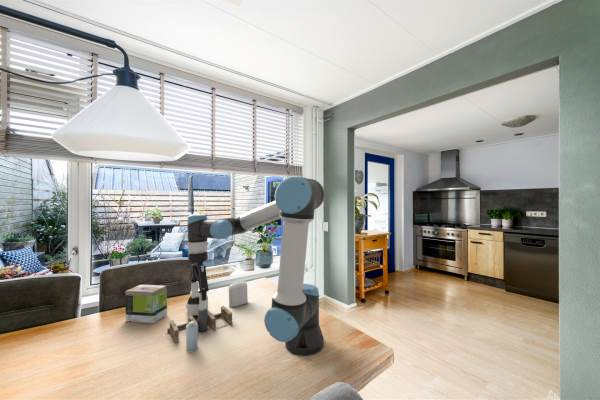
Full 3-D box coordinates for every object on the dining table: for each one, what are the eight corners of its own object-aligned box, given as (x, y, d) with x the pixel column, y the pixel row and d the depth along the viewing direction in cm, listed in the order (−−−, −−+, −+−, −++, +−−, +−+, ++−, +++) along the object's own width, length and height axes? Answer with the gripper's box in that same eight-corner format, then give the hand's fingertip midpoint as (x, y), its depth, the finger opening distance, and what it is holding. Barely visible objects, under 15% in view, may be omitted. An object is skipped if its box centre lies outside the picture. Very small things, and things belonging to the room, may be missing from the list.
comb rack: (233, 323, 115) (233, 312, 115) (172, 343, 99) (172, 331, 99) (224, 314, 123) (224, 304, 123) (167, 332, 108) (167, 320, 108)
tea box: (167, 314, 125) (167, 284, 125) (152, 324, 115) (152, 292, 115) (141, 312, 127) (141, 283, 127) (124, 321, 118) (124, 290, 117)
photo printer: (230, 308, 130) (230, 285, 130) (227, 305, 134) (227, 282, 134) (248, 303, 137) (248, 280, 137) (245, 300, 140) (245, 279, 140)
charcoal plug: (209, 330, 109) (208, 307, 109) (199, 333, 107) (199, 310, 106) (206, 326, 112) (206, 304, 112) (197, 329, 110) (196, 307, 110)
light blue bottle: (199, 348, 96) (198, 323, 96) (187, 353, 93) (187, 326, 93) (196, 344, 99) (195, 319, 99) (185, 348, 96) (184, 322, 96)
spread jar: (199, 319, 119) (198, 295, 119) (177, 318, 121) (177, 294, 120) (212, 308, 130) (212, 286, 130) (192, 307, 132) (192, 285, 132)
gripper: (216, 255, 96) (217, 310, 96) (199, 245, 116) (200, 291, 116) (195, 258, 91) (196, 316, 91) (182, 248, 112) (183, 295, 112)
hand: (198, 302), depth 104 cm, fingers open, 13 cm apart
